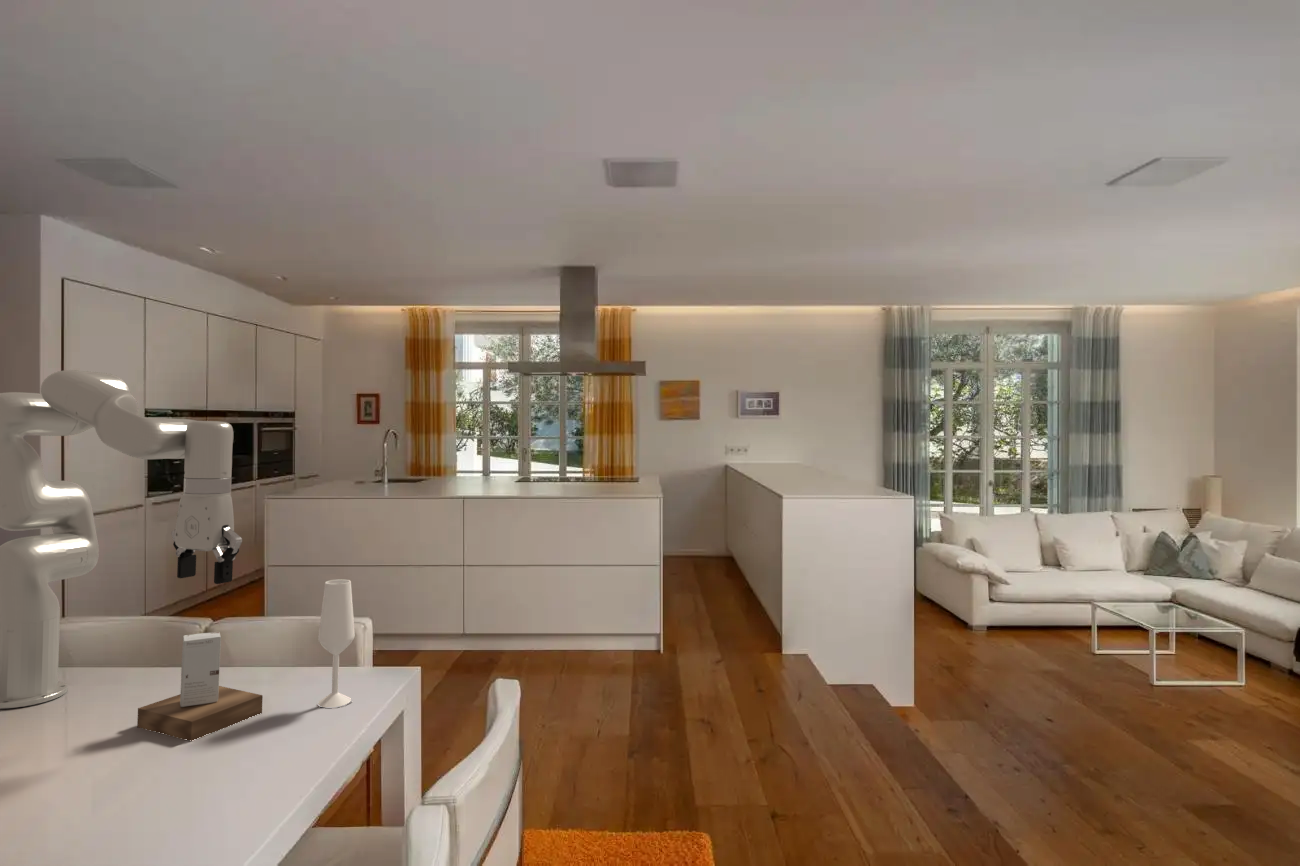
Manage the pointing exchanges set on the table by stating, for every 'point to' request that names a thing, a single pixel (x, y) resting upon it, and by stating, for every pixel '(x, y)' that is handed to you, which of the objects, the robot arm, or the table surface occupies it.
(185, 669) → the skincare box
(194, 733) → the walnut base
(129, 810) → the table surface
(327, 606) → the champagne flute
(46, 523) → the robot arm
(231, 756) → the table surface
